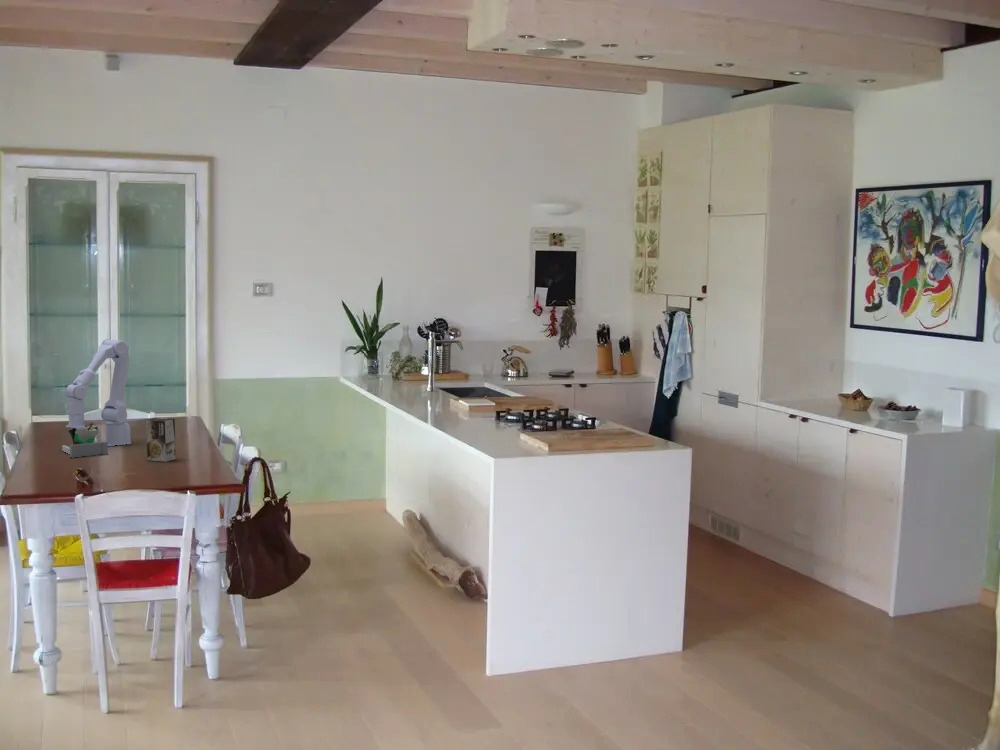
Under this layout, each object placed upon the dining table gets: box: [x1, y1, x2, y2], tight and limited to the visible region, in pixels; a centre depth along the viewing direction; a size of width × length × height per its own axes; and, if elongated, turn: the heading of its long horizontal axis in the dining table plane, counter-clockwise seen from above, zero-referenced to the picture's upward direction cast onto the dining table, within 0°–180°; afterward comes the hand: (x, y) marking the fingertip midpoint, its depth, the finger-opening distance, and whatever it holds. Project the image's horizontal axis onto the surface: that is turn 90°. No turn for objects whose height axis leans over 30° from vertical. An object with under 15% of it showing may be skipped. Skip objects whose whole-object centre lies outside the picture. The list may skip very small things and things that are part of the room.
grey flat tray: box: [61, 440, 109, 458], centre depth 416 cm, size 14×16×5 cm
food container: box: [72, 421, 100, 445], centre depth 419 cm, size 12×6×10 cm, turn 173°
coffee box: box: [145, 417, 176, 462], centre depth 404 cm, size 9×6×16 cm
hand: (77, 447), depth 421 cm, fingers closed, pressing on food container
